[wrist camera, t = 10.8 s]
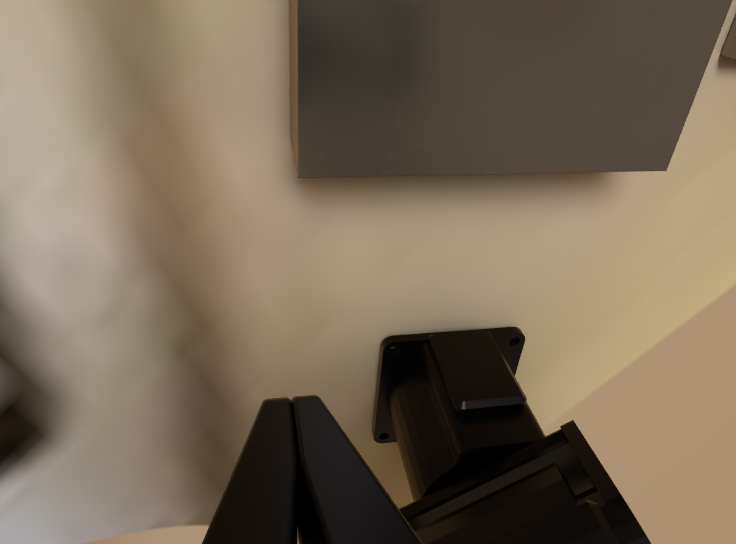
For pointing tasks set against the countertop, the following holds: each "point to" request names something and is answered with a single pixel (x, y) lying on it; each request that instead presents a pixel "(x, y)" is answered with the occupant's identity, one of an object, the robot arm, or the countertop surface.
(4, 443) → the countertop surface
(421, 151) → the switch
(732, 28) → the holster
